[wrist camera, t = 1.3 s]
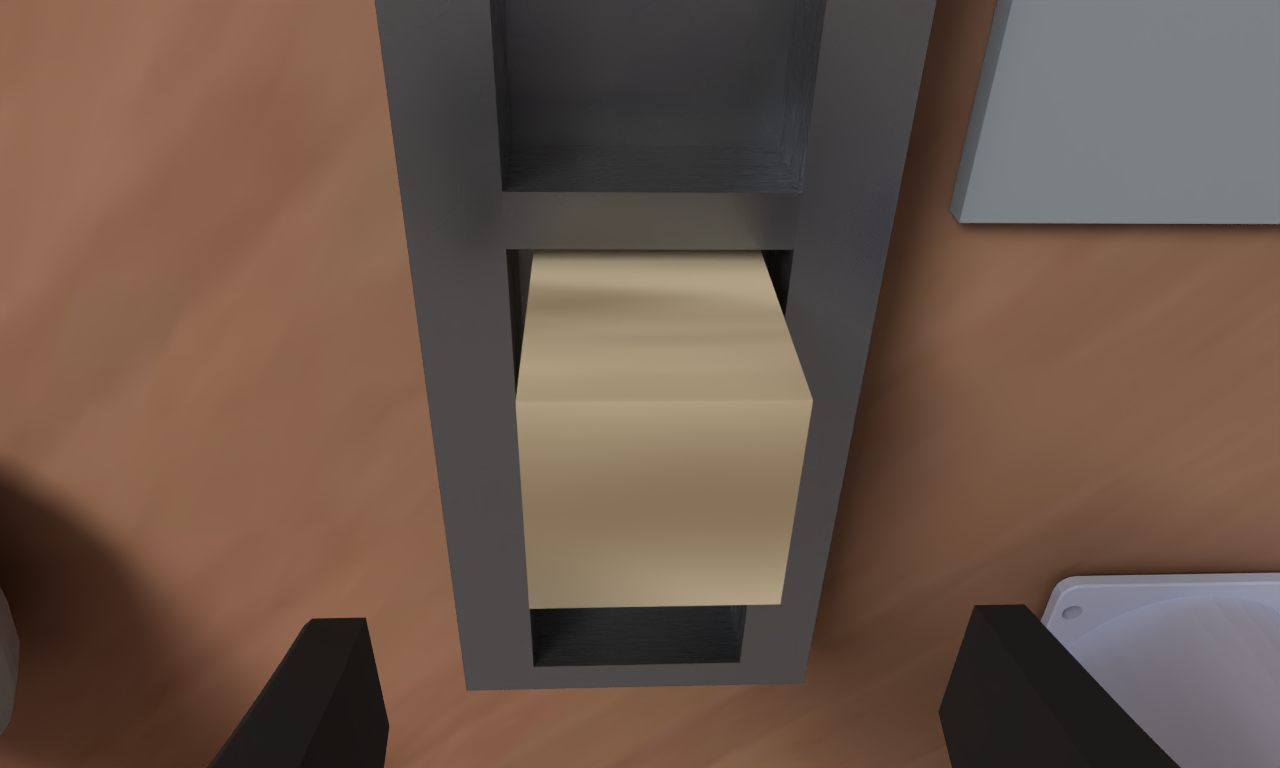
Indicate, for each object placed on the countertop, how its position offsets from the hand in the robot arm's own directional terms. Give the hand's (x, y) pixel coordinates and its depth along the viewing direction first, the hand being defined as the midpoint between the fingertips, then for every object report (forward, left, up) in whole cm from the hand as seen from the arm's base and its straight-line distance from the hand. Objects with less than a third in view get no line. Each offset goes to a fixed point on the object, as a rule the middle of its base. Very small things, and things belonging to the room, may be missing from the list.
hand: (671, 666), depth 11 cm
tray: (0, 0, -9) cm, 9 cm away
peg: (0, 0, -9) cm, 9 cm away
